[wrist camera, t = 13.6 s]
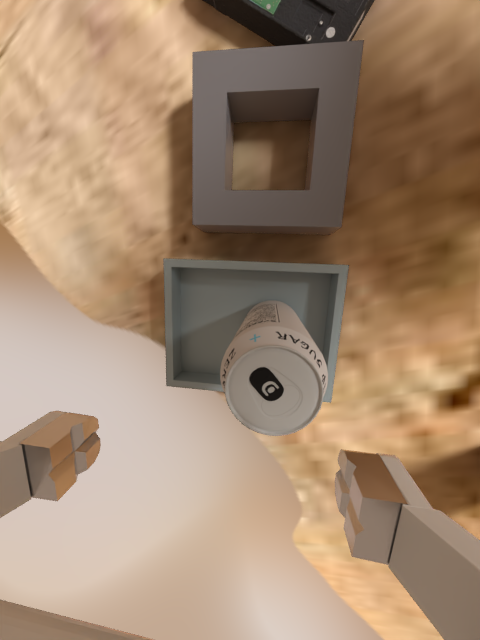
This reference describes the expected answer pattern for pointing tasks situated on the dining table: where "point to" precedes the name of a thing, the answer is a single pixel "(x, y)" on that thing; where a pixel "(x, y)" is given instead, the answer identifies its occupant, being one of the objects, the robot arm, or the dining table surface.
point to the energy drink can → (273, 371)
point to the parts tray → (243, 311)
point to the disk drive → (297, 19)
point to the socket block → (274, 105)
